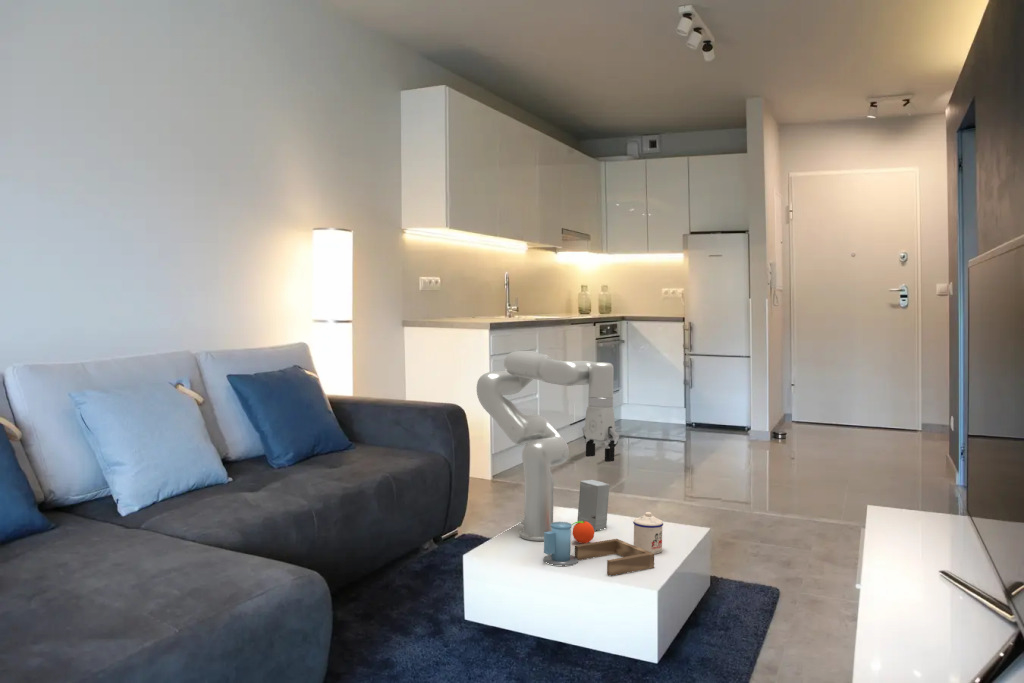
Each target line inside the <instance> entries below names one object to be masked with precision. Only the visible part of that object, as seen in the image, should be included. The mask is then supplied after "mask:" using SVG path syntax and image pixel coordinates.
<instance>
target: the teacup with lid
mask: <svg viewBox="0 0 1024 683" xmlns="http://www.w3.org/2000/svg"><path fill="white" fill-rule="evenodd" d="M632 522H633V523H632V524H633V545H634V546H636V547H639V548H641V549H644V550H646V551H649V552H651V553H654V555H657V554H660V553H662V550H663V526H664V522H663V520H662V519H659V518H657V517H655V516H654V515H653V514H652V512H650V511H647V512H645V513H644V515H641V516H639V517H637V518H636V517H635V518H634V519H633V521H632Z"/></svg>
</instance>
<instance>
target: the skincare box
mask: <svg viewBox="0 0 1024 683" xmlns="http://www.w3.org/2000/svg"><path fill="white" fill-rule="evenodd" d="M578 494H579V496H578V510H577V511H578V512H577V520H576V522H578V521H586V522H589V523H590V524H591V525H592V526H593V528H594V532H597V531H596V530H599V531H601V530H600V529H603V530H605V529H604V528H606V529H607V523H608V508H609V495H610V484H609V483H605V482H603V481H599V480H595V479H588V480H587V479H584V480H580V484H579V493H578Z"/></svg>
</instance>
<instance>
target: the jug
mask: <svg viewBox="0 0 1024 683" xmlns="http://www.w3.org/2000/svg"><path fill="white" fill-rule="evenodd" d="M572 524H573V523H570V522H567V521H555V522H554V521H553V523H551V527H552V531H550V532H544V541H543V553H544V554H546V556H547V555H550V554H551V559H552V560H554V561H558V562H565V561H569V560H570V556H571V555H572V554H571V552H572V551H571V550H572V549H571V546H572V545H571V544H572V541H571V540H572V538H571V537H572V534H571V533H572V529H573V527H572V526H573V525H572Z"/></svg>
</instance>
